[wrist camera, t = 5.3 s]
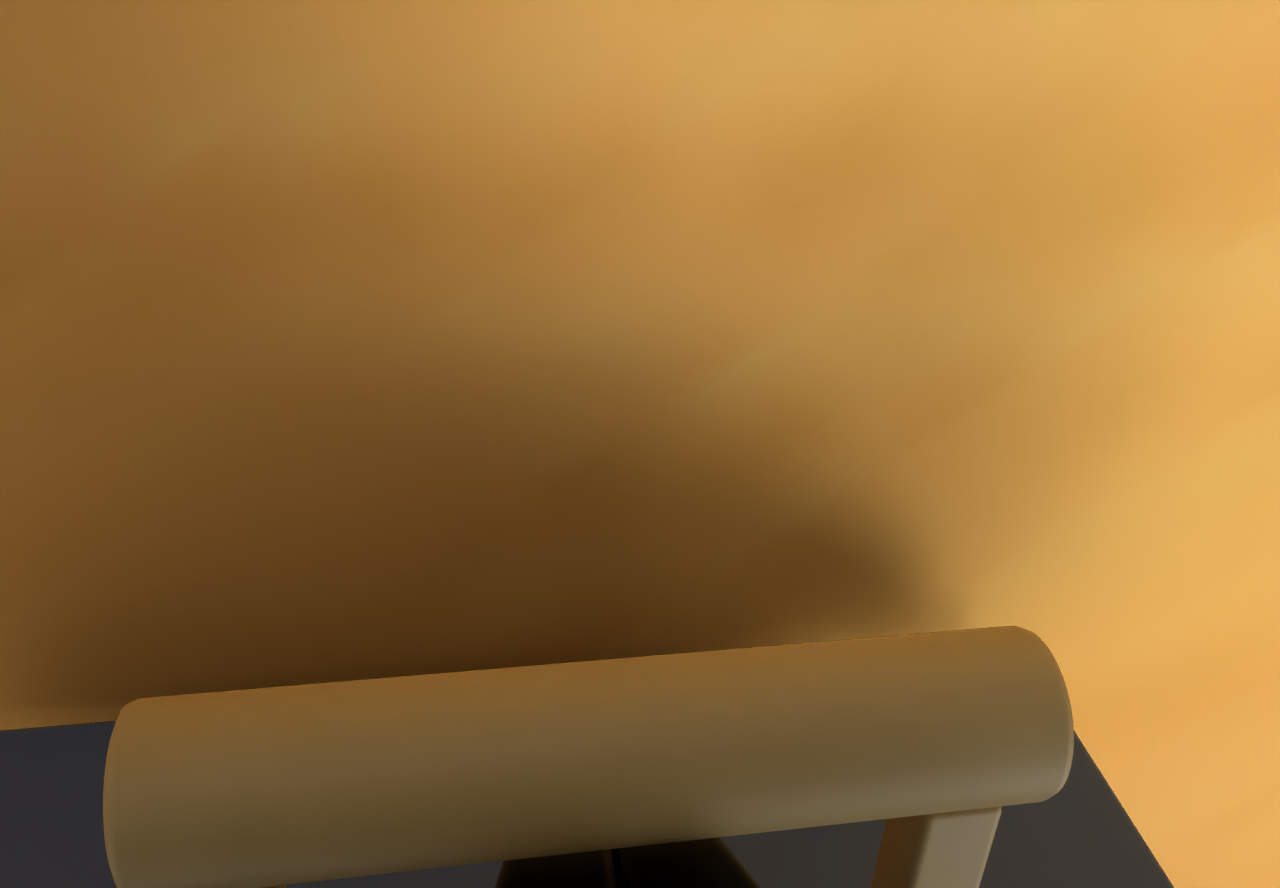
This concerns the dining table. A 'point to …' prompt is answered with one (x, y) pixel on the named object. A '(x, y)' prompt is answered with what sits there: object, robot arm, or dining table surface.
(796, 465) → the dining table surface
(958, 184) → the dining table surface
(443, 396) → the dining table surface
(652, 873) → the robot arm
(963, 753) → the drawer
